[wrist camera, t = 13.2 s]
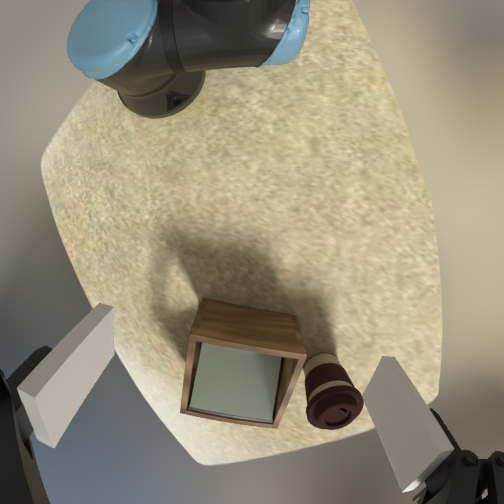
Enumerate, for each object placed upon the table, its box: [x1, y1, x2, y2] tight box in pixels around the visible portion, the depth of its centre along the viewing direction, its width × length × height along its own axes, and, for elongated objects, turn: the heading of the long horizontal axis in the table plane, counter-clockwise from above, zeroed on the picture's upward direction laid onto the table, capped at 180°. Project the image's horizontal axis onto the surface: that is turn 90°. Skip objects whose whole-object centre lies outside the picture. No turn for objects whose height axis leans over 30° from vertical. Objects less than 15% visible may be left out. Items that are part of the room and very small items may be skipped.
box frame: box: [180, 298, 307, 429], centre depth 48 cm, size 17×17×12 cm
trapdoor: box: [188, 342, 281, 423], centre depth 47 cm, size 12×14×1 cm
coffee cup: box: [304, 353, 364, 430], centre depth 49 cm, size 10×10×15 cm
